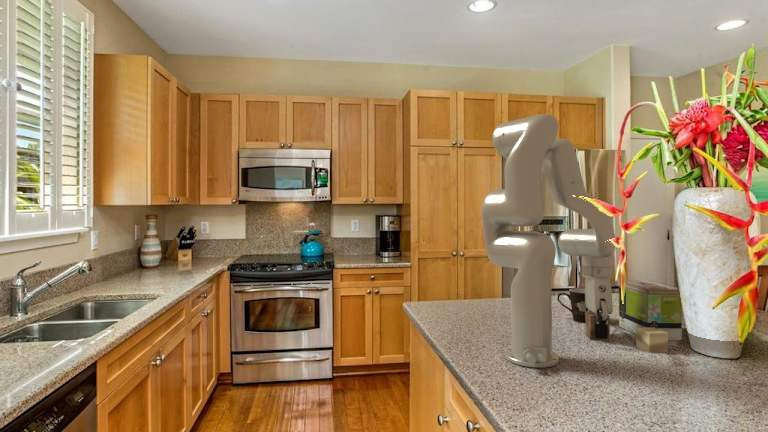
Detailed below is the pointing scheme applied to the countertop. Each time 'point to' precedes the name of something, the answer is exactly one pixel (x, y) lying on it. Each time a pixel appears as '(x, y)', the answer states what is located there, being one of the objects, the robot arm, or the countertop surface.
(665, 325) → the tea box
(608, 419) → the countertop surface
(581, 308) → the coffee mug
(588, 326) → the walnut block
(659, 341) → the beech block
